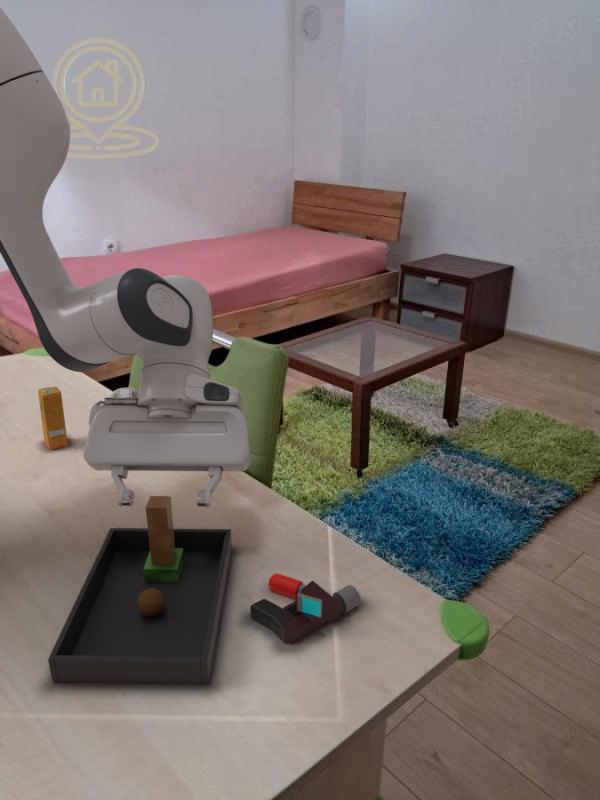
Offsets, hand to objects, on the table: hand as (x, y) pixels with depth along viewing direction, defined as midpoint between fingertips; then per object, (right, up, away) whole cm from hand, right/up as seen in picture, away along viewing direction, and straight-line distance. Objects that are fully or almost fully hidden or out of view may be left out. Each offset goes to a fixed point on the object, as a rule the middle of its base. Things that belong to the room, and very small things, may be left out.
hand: (164, 505), depth 76 cm
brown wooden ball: (0, -10, -6) cm, 11 cm away
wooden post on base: (0, -8, +1) cm, 8 cm away
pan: (0, -11, -4) cm, 12 cm away
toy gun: (+17, -11, -3) cm, 20 cm away
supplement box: (-25, +5, +32) cm, 40 cm away
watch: (-12, +4, +30) cm, 32 cm away
